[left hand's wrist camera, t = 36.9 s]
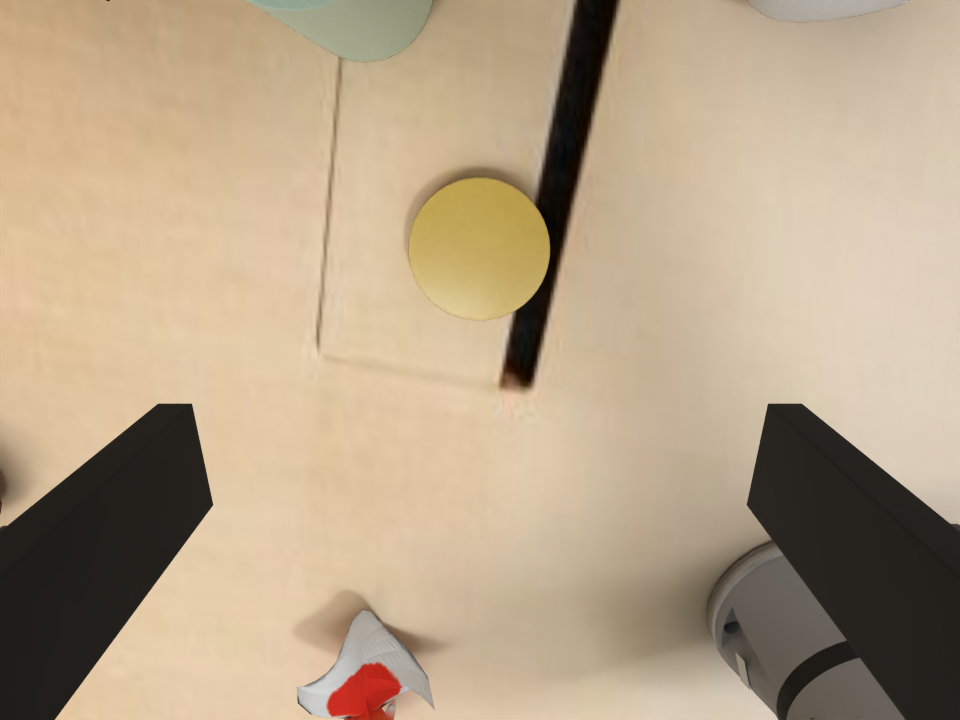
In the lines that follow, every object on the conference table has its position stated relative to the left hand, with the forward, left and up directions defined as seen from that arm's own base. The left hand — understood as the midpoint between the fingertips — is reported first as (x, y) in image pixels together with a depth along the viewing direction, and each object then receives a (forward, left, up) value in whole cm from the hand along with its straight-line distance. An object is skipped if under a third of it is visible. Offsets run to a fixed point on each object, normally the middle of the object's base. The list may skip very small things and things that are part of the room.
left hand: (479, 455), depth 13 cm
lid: (0, 0, -25) cm, 25 cm away
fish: (-20, +33, -26) cm, 47 cm away
